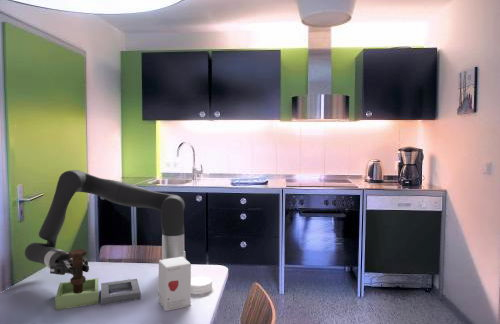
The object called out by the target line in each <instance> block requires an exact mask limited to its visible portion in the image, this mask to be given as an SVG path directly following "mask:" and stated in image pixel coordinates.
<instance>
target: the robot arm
mask: <svg viewBox="0 0 500 324" xmlns="http://www.w3.org/2000/svg"><path fill="white" fill-rule="evenodd" d="M76 193H84V194H85V193H86V194H92V195H96V196H99V197H100V198H102V199H104V200H106V201H108V202H111V203H114V204H117V205H121V206H123V207H124V206H125V207H130V208H144V209H146V208H147V209H148V208H149V209H154V210H157V211H159V212H160V227H161V234H162V235H161V236H162V237H161V246H162V249H161V250H162V251H161V252H162V254H161V255H162V256H161V260H163V259H169V258H176V257H184V258H185V259H186V260H187V258H186V257H187V256H186V251H185V222H184V221H185V220H184V217H185V216H184V215H185V214H184V210H185V208H186V202H185V201H184V199H183V198H182V197H181V196H179V195H177V194H169V193H162V192H157V191H153V190H152V189H151V190H150V189H147V188H145V187H141V186H139V185H135V184H131V183H127V182H123V181H119V180H113V179H107V178H102V177H98V176H95V175H92V174H89V173H86V172H84V171H81V170H79V169H78V170H77V169H73V170H67V171H64V172H62V173H61V174H60V176H59V178H58V181H57V184H56V187H55V193H54V194H53V198H52V201H51V204H50V207H49V210H48V212H47V214H46V217H45V219H44V221H43V223H42V225H41V227H40V229H39V232H38V237H39V238H40V239H42V240H45V241H46V242H45V243H43V242H32V243H30V244H28V245H27V246H26V247H25V250H24V256H25V258H26V259H27V261H30V262H34V263H38V264H42V265H44V266H46V267H47V268H49V273H50V275H51V274H53V275H58V276H59V275H60V276H64V275H65V274H68V275H72V276H73V275H77V274H78V271H77V269H76V268H74V267H73V261H72V258H71V257H69V252H67V251H65V250H63V249H59V248H56V247H57V246H56V245H57V242H58V238H59V237H58V236H59V234H60V232H61V230H62V228H63V225H64V223H65V220H66V214H67V210H68V206H69V204H70V202H71V199H72V198H73V196H75V194H76ZM89 270H90V267H89V259H88V258H87V257H86V256H83V273H88V272H89Z"/></svg>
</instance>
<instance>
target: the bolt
mask: <svg viewBox="0 0 500 324" xmlns="http://www.w3.org/2000/svg"><path fill="white" fill-rule="evenodd" d="M68 253H69V257H71V258H72V261H73V267H74V268H76V269H77V271H78V274H77V275H72V277H71V278H70V281H69V282H70V283H71V284H72V285H73V293H75V294H79V293H82V291H83V283H84V282H85V281H86V280H87V278H86V276H85V275H84V271H83V258H84V257H86V256H87V251H86V249H84V248H80V249H79V248H78V249H73V250H70V251H69V252H68Z"/></svg>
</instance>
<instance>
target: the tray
mask: <svg viewBox="0 0 500 324" xmlns="http://www.w3.org/2000/svg"><path fill="white" fill-rule="evenodd" d="M54 299H55V301H54V303H55V311H57V310H58V311H60V310H64V309H70V308H76V307H77V308H78V307H83V306H89V305H97V304H99V278H98V277H95V278H89V279H87V278H86V281H85V282H84V283H83V291H82V293H79V294H75V293H73V285H72V284H71V283H70V281H64V282H59V283H58V288H57V291H56V295H55V298H54Z"/></svg>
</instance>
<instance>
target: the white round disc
mask: <svg viewBox="0 0 500 324" xmlns="http://www.w3.org/2000/svg"><path fill="white" fill-rule="evenodd" d="M212 290H213V279H212V278H210V277H208V276H203V275H201V276H199V275H198V276H193V277H192V276H191V295H196V296H198V295H205V294H207V293H208V294H209V292H211V291H212Z"/></svg>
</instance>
